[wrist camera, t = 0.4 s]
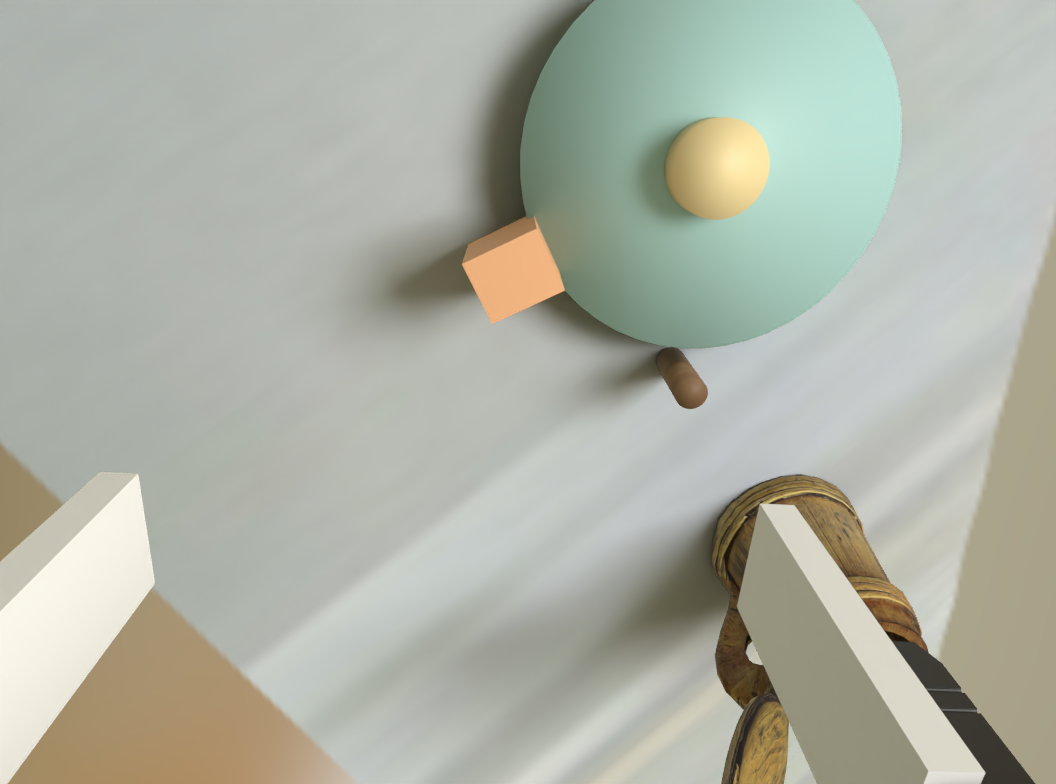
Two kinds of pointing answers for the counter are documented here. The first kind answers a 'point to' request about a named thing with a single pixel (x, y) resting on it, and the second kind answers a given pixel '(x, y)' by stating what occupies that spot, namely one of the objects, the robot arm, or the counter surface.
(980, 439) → the counter surface
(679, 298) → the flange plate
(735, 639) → the wooden mug
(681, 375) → the dowel
